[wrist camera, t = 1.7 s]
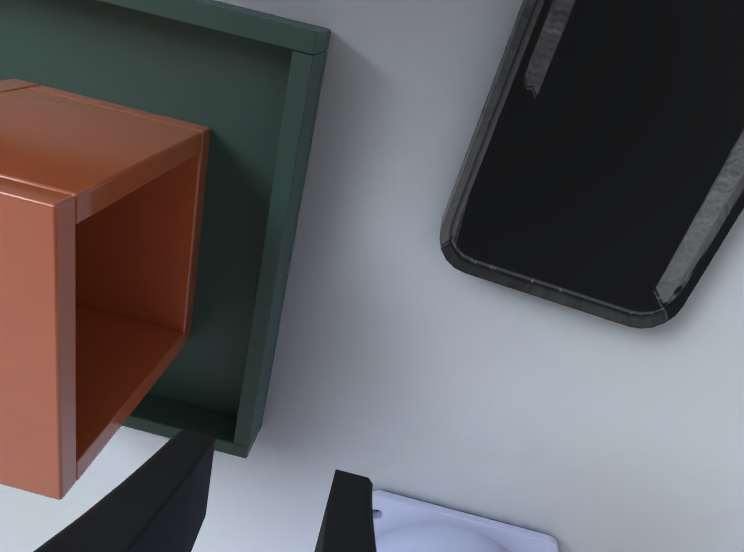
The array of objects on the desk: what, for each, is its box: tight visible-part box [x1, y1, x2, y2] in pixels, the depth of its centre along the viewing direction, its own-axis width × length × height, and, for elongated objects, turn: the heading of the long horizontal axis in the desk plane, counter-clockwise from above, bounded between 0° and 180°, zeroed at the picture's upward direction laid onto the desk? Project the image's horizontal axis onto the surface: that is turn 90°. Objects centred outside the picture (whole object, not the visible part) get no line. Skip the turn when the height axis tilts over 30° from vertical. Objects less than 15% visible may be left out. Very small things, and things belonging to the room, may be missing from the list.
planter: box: [0, 78, 211, 500], centre depth 17 cm, size 6×8×8 cm
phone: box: [440, 0, 744, 328], centre depth 16 cm, size 8×1×15 cm
